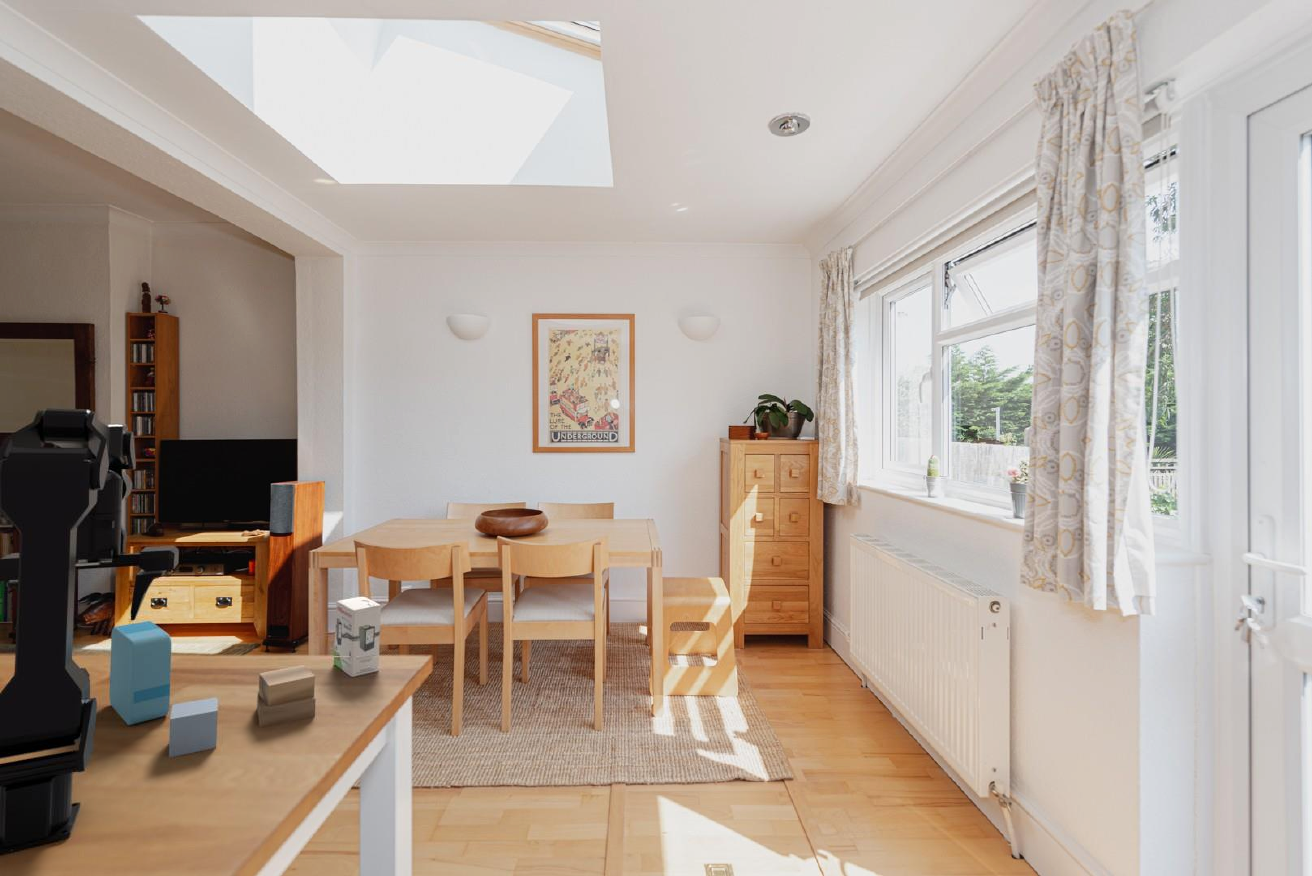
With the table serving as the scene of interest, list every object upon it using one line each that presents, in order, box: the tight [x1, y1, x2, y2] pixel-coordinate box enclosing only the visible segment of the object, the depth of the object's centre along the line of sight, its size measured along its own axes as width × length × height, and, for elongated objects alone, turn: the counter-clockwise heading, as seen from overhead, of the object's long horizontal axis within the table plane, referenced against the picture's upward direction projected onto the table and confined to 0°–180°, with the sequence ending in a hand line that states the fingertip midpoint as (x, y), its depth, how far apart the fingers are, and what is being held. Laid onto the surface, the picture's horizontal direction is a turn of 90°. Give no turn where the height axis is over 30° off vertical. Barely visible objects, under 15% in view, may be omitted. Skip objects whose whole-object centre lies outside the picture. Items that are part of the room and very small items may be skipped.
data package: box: [109, 620, 172, 726], centre depth 93 cm, size 12×4×12 cm, turn 52°
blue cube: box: [168, 696, 219, 758], centre depth 84 cm, size 5×5×5 cm
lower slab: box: [256, 690, 316, 728], centre depth 94 cm, size 7×7×3 cm
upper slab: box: [258, 664, 316, 707], centre depth 95 cm, size 6×6×3 cm
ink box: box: [333, 596, 382, 678], centre depth 113 cm, size 9×5×12 cm, turn 47°
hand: (91, 623), depth 88 cm, fingers open, 9 cm apart
